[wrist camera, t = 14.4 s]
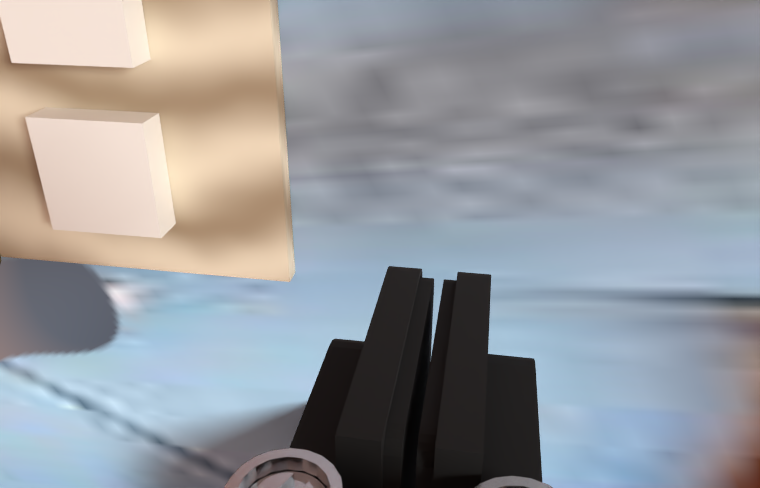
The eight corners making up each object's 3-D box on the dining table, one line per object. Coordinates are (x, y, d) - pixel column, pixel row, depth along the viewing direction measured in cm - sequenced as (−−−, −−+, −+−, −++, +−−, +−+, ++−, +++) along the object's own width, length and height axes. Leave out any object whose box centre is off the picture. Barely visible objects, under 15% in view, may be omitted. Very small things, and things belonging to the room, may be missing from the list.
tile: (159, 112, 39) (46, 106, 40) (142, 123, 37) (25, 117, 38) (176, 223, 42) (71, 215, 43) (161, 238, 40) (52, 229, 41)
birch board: (-103, -160, 35) (-122, -161, 34) (266, -164, 32) (258, -165, 31) (12, 248, 46) (1, 256, 45) (295, 272, 43) (289, 281, 42)
